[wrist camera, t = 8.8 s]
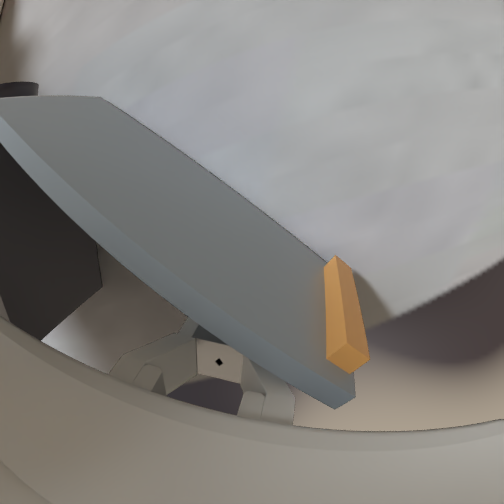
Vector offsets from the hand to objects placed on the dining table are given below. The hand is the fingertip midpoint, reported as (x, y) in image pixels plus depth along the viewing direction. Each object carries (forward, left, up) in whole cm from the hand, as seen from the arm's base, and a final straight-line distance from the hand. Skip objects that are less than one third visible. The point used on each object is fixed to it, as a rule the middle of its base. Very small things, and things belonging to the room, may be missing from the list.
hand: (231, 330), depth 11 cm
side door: (-5, -3, -5) cm, 7 cm away
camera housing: (-3, -14, -5) cm, 15 cm away
